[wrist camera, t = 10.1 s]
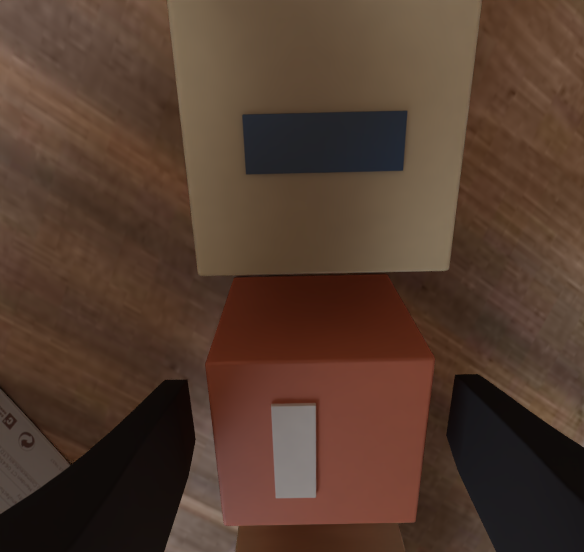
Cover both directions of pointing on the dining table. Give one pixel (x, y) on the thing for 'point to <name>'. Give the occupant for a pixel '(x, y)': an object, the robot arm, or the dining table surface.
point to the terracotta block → (318, 401)
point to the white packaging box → (23, 456)
